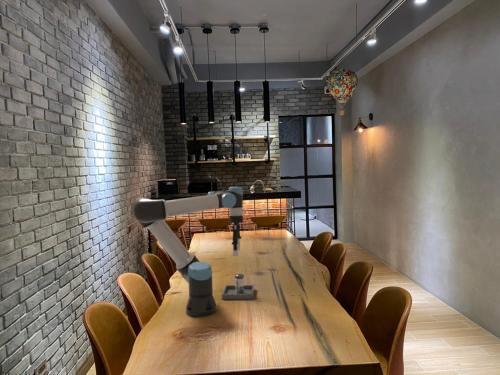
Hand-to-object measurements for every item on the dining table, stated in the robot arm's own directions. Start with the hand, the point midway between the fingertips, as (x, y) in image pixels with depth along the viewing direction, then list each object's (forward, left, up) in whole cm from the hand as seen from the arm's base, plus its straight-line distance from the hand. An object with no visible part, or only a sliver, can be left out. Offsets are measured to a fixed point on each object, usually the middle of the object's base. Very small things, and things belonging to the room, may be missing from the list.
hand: (236, 253), depth 205 cm
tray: (0, +1, -23) cm, 23 cm away
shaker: (+1, +1, -23) cm, 23 cm away
